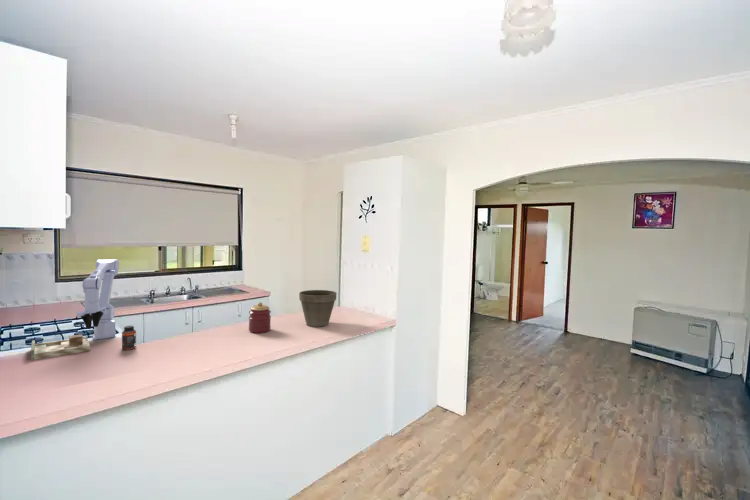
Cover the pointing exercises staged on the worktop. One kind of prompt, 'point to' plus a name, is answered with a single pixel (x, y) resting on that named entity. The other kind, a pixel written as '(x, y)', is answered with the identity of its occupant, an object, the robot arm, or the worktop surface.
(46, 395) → the worktop surface
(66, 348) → the box
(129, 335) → the supplement bottle
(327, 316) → the plant pot
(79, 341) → the walnut block
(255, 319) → the canister
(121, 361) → the worktop surface
